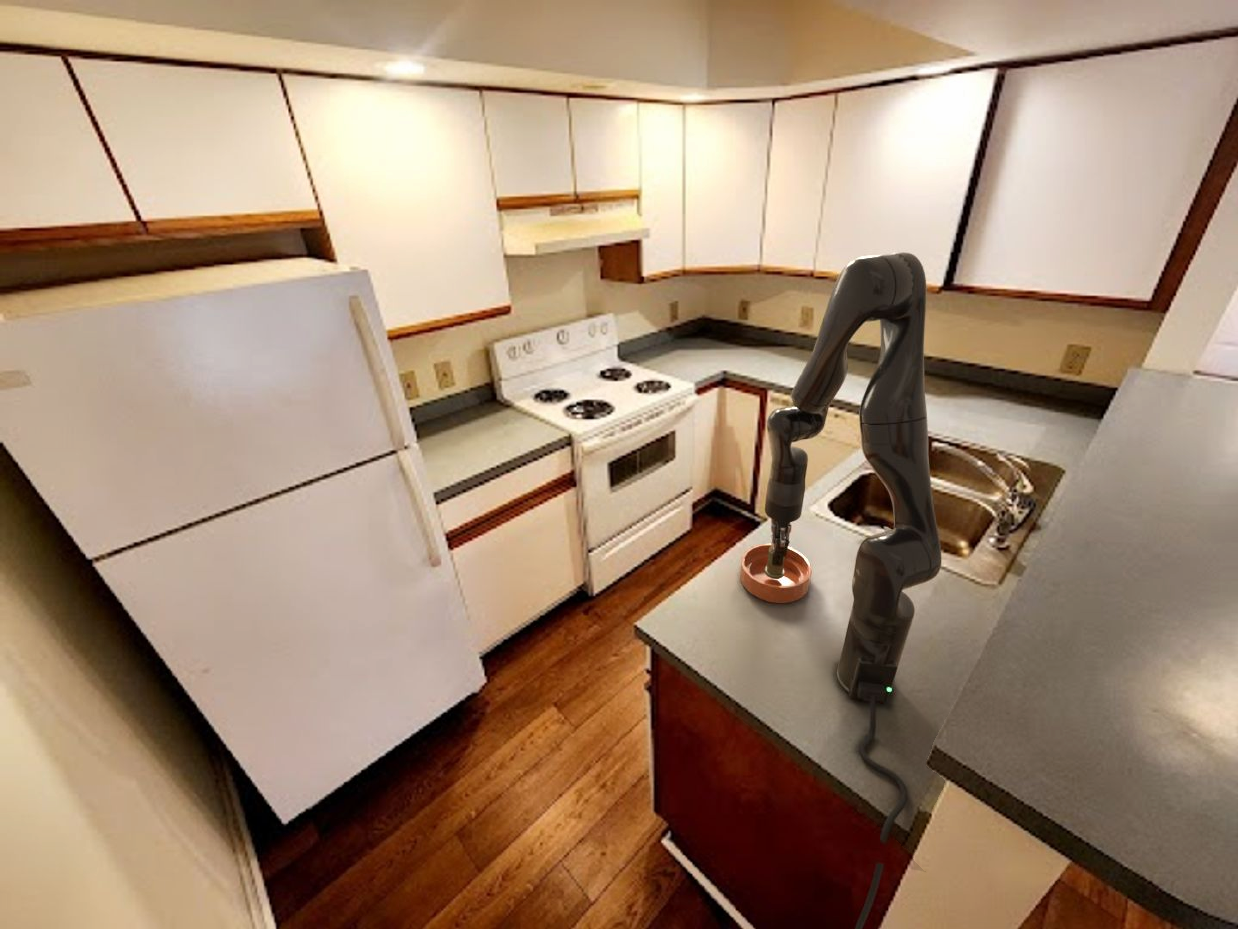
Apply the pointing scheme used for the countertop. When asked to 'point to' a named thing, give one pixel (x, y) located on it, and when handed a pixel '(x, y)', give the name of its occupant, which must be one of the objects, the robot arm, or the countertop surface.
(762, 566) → the bowl
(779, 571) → the peg doll
